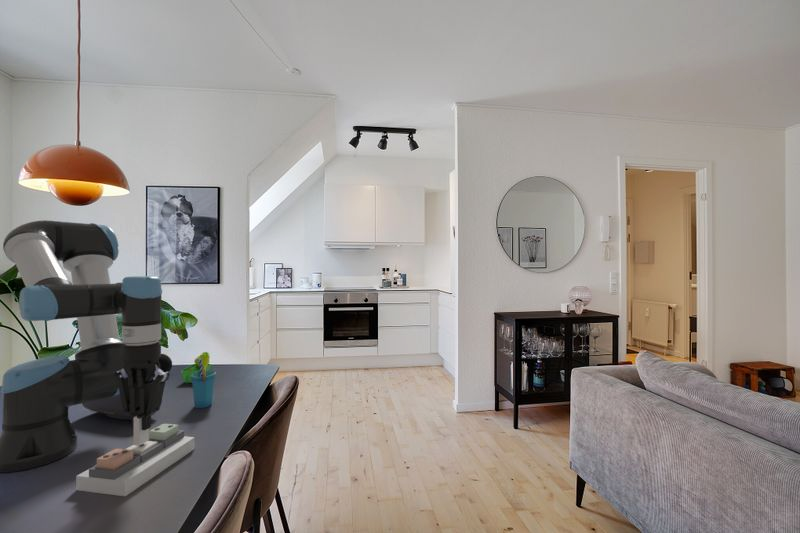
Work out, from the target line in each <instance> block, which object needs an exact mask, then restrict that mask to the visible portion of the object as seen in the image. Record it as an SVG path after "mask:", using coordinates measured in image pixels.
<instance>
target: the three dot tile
mask: <svg viewBox="0 0 800 533" xmlns="http://www.w3.org/2000/svg"><path fill="white" fill-rule="evenodd" d="M131 460H133V450H127V449H126V448H117V447H116V448H114V449H112V450H110V451H109V452H107V453H105V454H103V455H101V456H99V457H97V458H96V465H97V468H100V469H109V470H116V469H117V468H119V467H121V466H122V465H124V464H126V463H127V462H129V461H131Z"/></svg>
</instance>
